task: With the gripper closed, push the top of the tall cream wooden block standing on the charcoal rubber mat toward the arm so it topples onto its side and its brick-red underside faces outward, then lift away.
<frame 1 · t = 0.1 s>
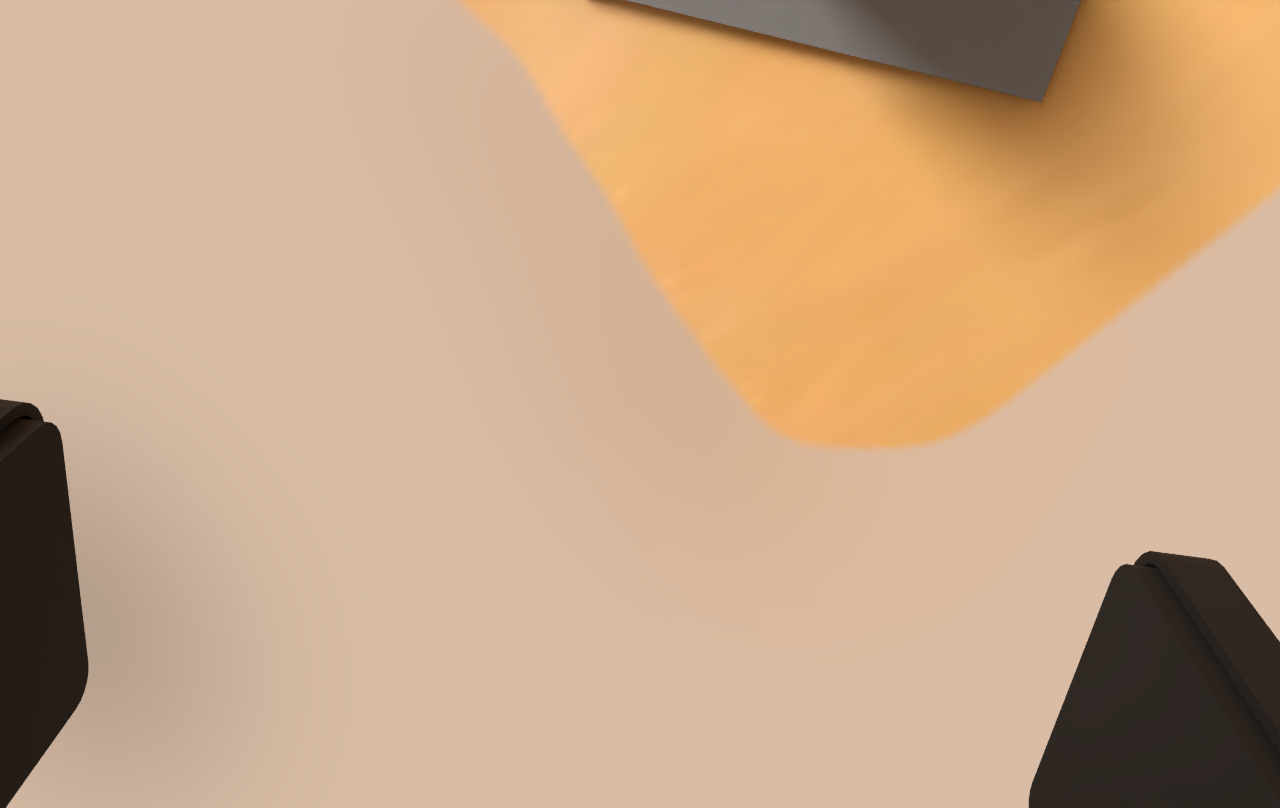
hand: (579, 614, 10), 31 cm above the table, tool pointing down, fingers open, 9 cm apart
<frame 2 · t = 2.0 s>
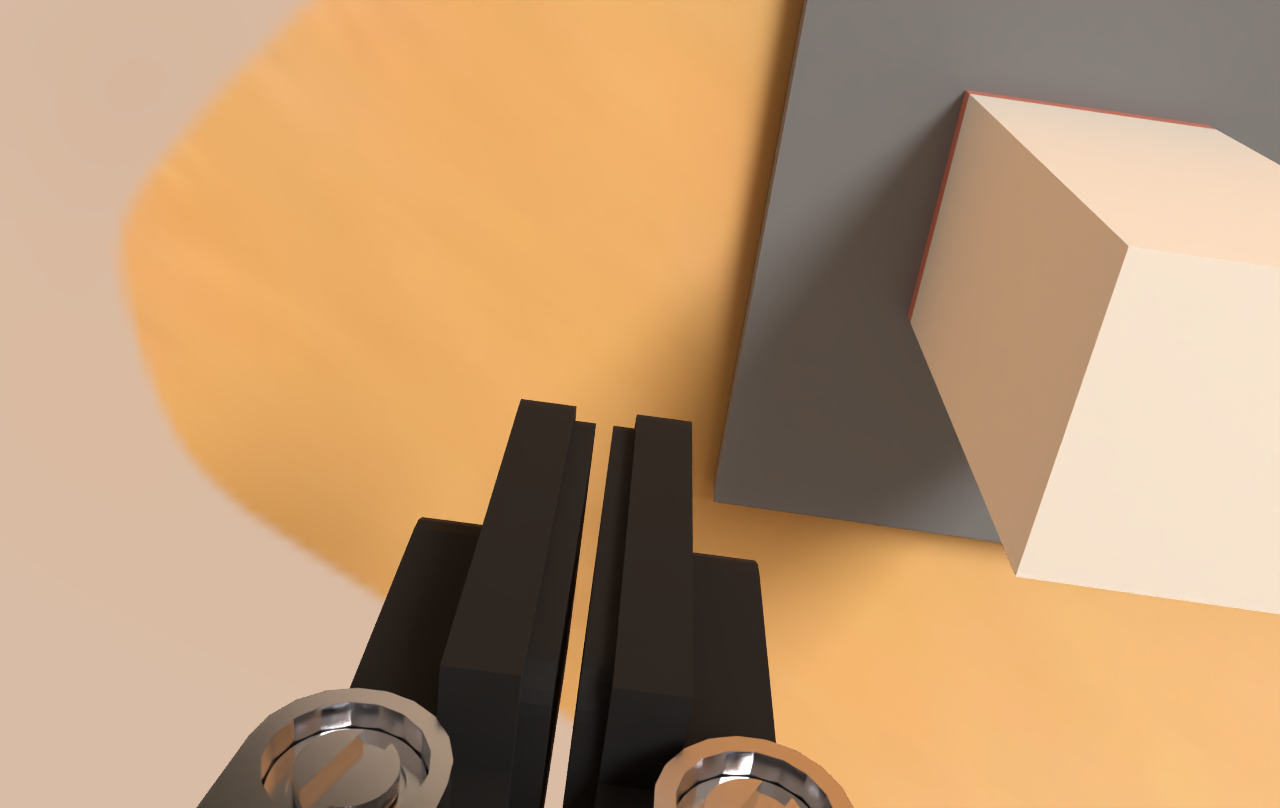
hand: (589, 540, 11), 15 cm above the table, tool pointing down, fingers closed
cream block: (1050, 224, 24), point 1 cm above the table, touching charcoal mat
charcoal mat: (1220, 239, 25), on the table
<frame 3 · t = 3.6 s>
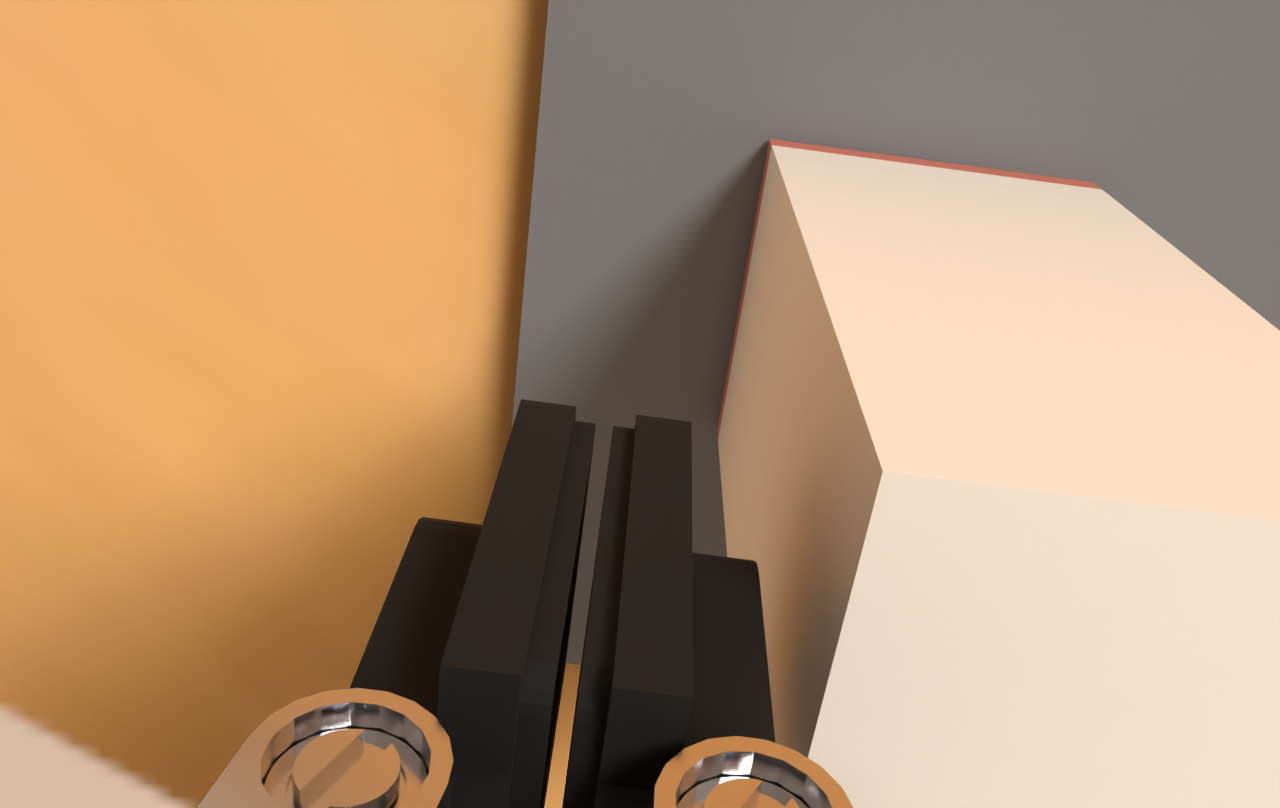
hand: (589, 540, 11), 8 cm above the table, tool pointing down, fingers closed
cream block: (894, 312, 18), point 1 cm above the table, touching charcoal mat, gripper
charcoal mat: (1119, 325, 19), on the table
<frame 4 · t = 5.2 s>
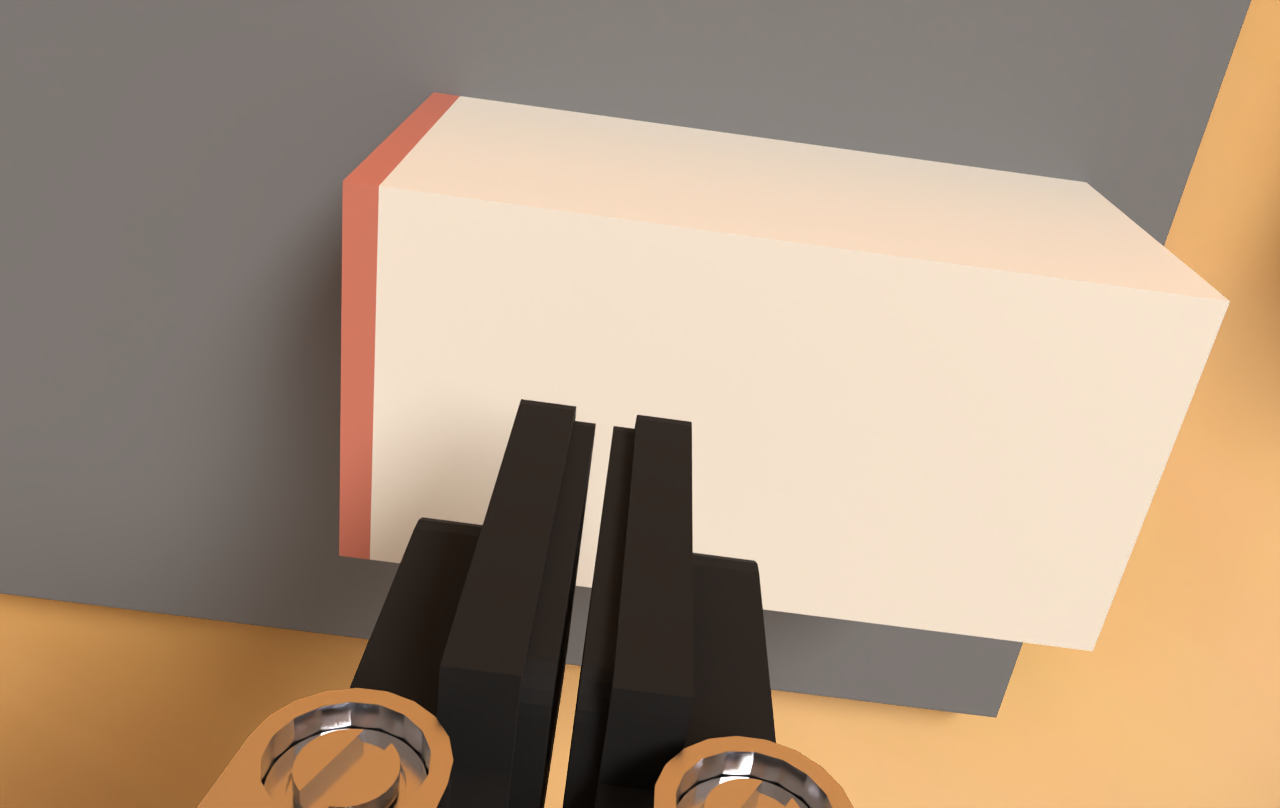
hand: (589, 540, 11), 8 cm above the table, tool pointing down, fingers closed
cream block: (389, 307, 16), point 3 cm above the table, tilted 90°, touching charcoal mat
charcoal mat: (525, 246, 19), on the table
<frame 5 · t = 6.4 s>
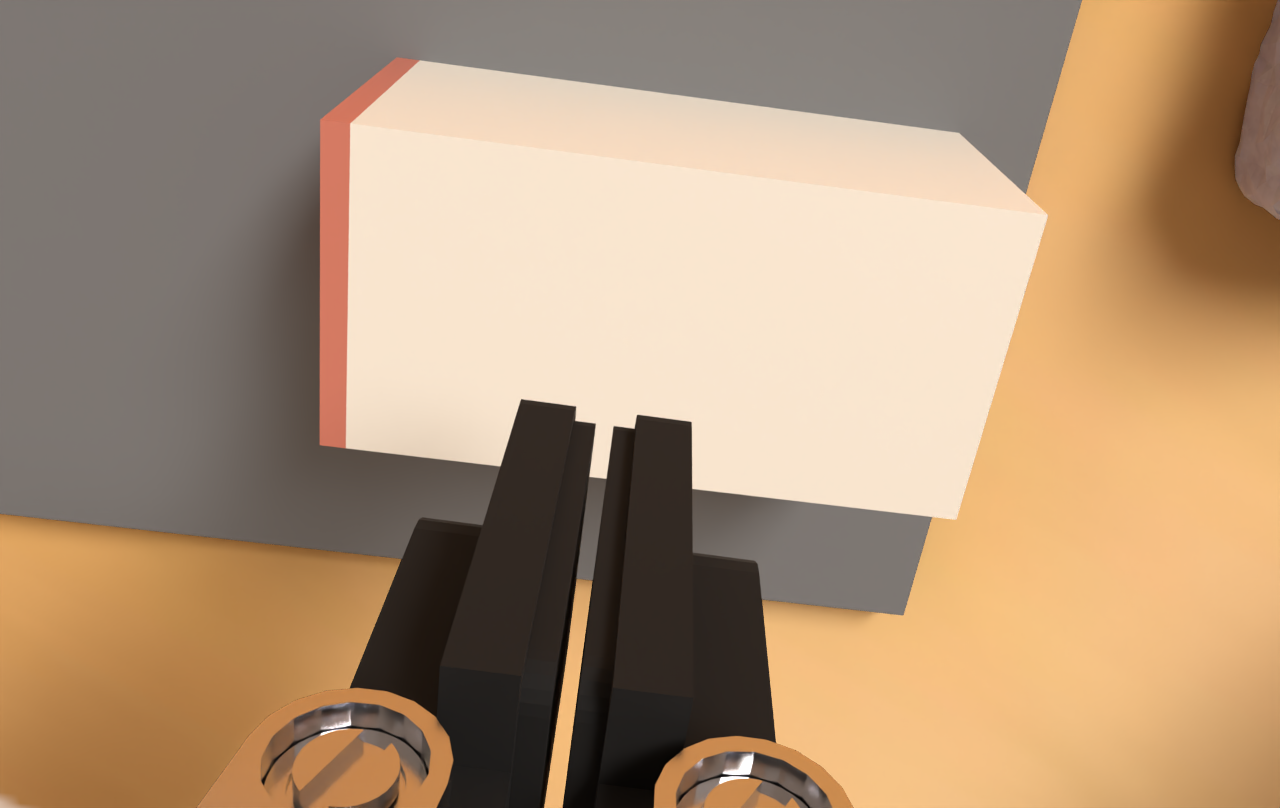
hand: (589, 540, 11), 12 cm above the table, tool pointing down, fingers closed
cream block: (360, 239, 18), point 3 cm above the table, tilted 90°, touching charcoal mat
charcoal mat: (479, 195, 21), on the table
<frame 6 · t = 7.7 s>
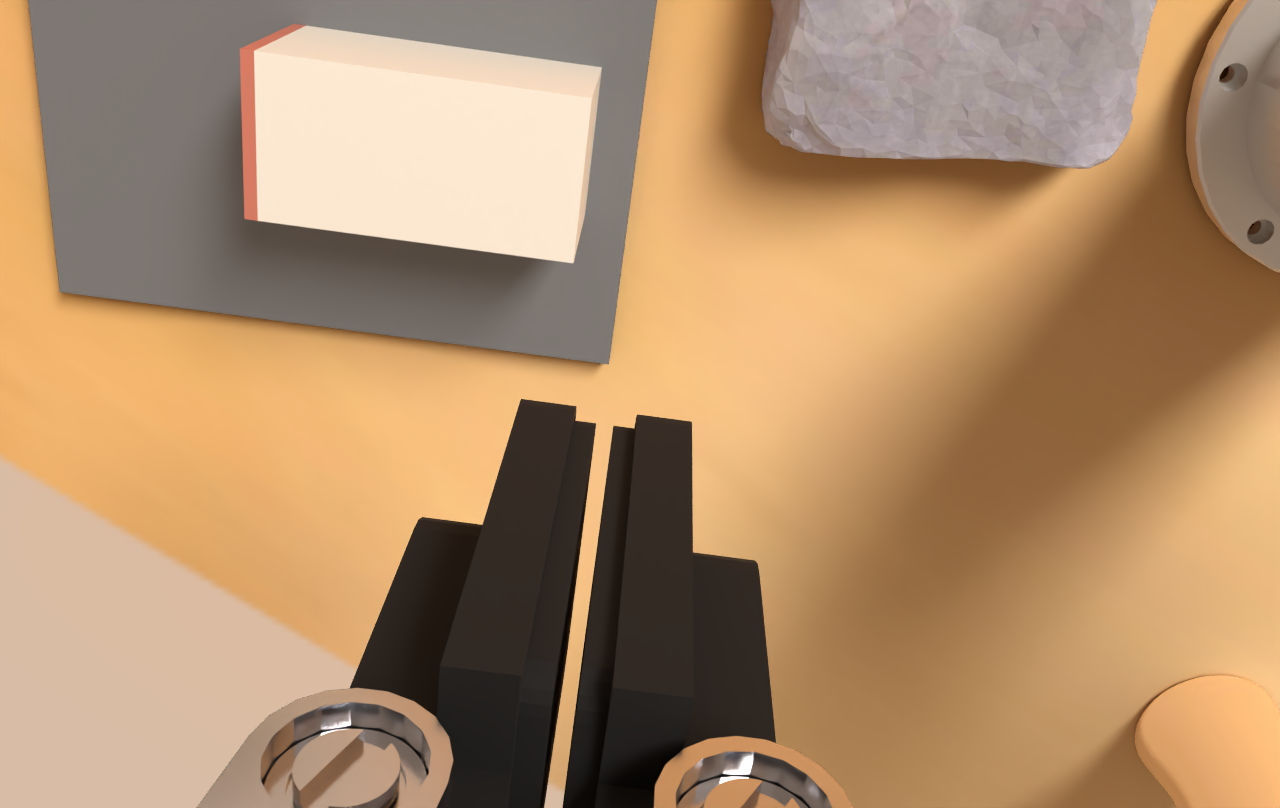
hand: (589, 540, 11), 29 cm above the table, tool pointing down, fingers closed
cream block: (269, 118, 35), point 3 cm above the table, tilted 90°, touching charcoal mat
charcoal mat: (345, 103, 38), on the table
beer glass: (1202, 724, 49), on the table
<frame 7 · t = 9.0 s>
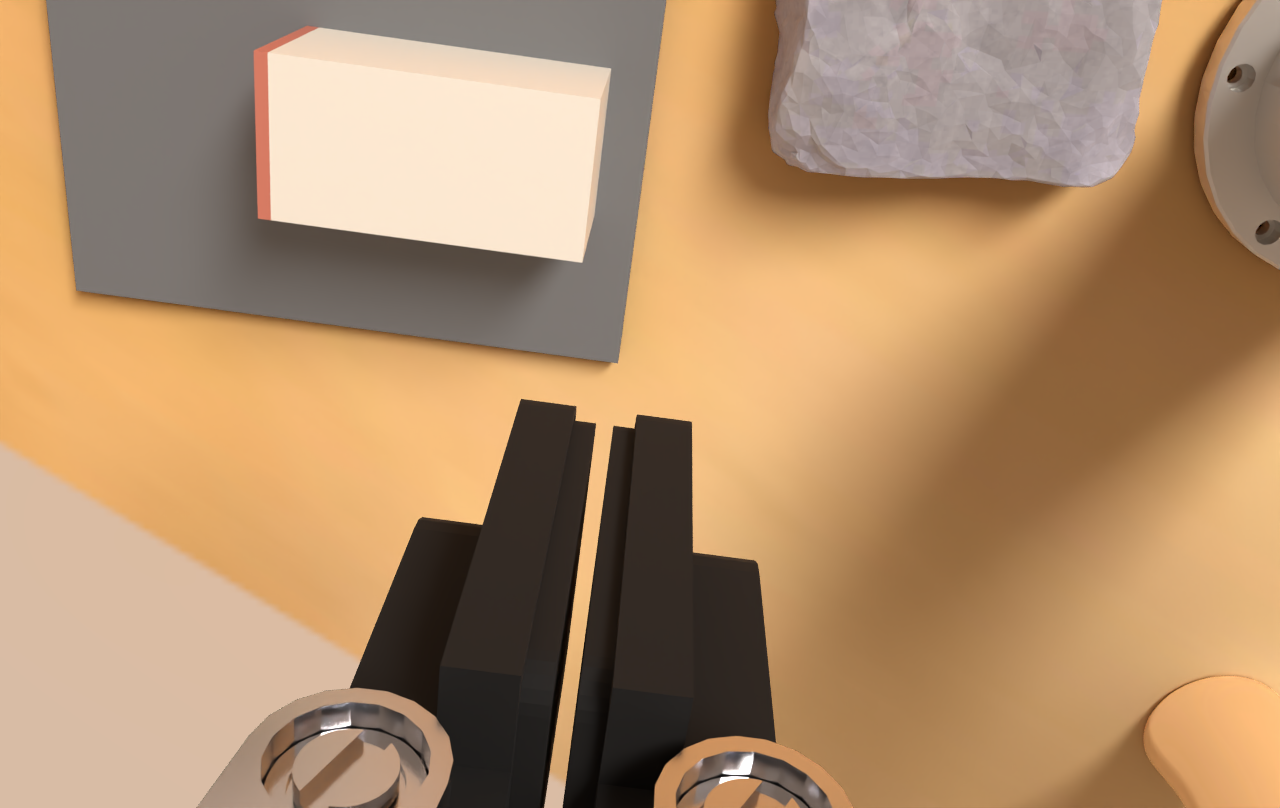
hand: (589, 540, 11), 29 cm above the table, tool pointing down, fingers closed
cream block: (283, 119, 35), point 3 cm above the table, tilted 90°, touching charcoal mat
charcoal mat: (357, 104, 38), on the table
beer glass: (1211, 725, 49), on the table
stone block: (949, 5, 37), on the table
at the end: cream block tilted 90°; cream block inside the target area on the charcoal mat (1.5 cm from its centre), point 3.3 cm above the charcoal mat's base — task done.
